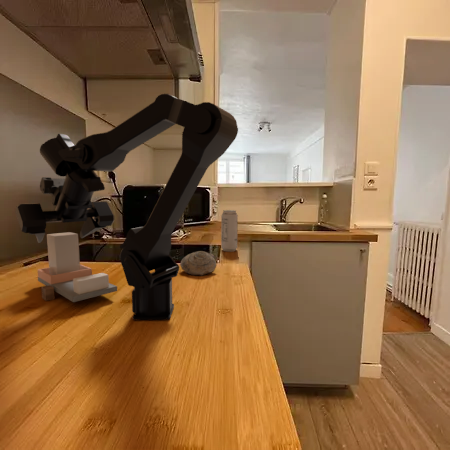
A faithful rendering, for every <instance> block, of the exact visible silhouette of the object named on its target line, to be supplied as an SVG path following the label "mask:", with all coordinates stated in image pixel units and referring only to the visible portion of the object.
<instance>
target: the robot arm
mask: <svg viewBox="0 0 450 450" xmlns="http://www.w3.org/2000/svg"><path fill="white" fill-rule="evenodd" d="M175 125H178V126H180V127H183V130H182V134H181V154H180V156H179V159H178V160H177V163H175V166H174V168H173V170H172V172H171V174H170V176H169V178H168V180H167V182H166V184H165V186H164V187H163V190H162V192H161V194H160V196H159V198H158V200H157V202H156V204H155V205H154V207H153V209H152V212H151V213H150V216H149V218H148V220H147V221H146V223H145V225H144V226H139V227H135V228H134V227H133V228H130V229H129V230H128V232H126V236H125V239H124V241H123V243H122V244H121V245H120V246H119V248H121V251H120V254H119V259H120V260H119V261H120V264H121V266H122V270H123V272H124V276H125V279H126V283H127V285H128V286H129V287H133V289H132V291H131V308H132V309H131V311H132V313H133V316H132V320H133V321H148V320H149V321H153V320H154V321H156V320H157V321H159V320H161V321H162V320H163V321H164V320H165V321H166V320H167V321H168V320H170V319H171V317H172V314H173V310H174V307H175V303H173V278H176V277H177V276H178V274H179V270H180V266H179V265H178V263H177V262H176V260H174V258H173V257H172V256H171V254H170V252H171V250H172V235H173V233H174V232H173V231H174V230H175V229H176V226H177V224H178V223H179V221H180V219H181V217H182V215H183V214H184V212H185V210H186V208H187V206H188V205H189V203H190V201H191V199H192V197H193V195H194V194H195V192H196V190H197V189H198V186H199V184H200V183H201V181H202V179H203V178H204V175H205V173H206V171H207V170H208V168H209V167H210V166H212V164H213V163H215V162H216V161H217V160H218V159H220V158H221V156H223V155H224V154H225V153H226V151H227V150H228V149H229V147H230V146H231V145H232V144H233V143H234V141H235V139H236V138H237V135H238V132H239V127H238V124H237V119H236V118H235V117H234V115H233V114H232V113H230V112H228V111H227V110H225V109H224V108H221V107H220V106H218V105H216V104H214V103H212V102H210V101H209V102H208V101H205V102H201V103H198V104H195V103H192V102H189V101H186V100H184V99H181V98H177V97H176V96H173V95H172V94H170V93H162V94H161V93H160V94H159V95H157V96H156V97H155V99H154V101H153V102H151V103H149V104H148V105H147V106H145V107H143V108H142V109H141V110H139V111H137V112H136V113H135V114H133V115H131V116H130V117H129V118H127V119H126V120H124V121H123V122H121V123H119V124H118V125H116V126H115V127H114V128H112V129H111V130H108V131H105V132H101V133H94V134H91V135H88V136H86V137H83V138H80V139H79V140H78V141H77V142H76V144H74V143H73V142H72V140H71V138H70V137H69V136H68V134H63V133H57V134H56V137H54V138H50V139H48V140H46V141H45V142H44V143H41V145H40V148H39V153H40V156H41V157H42V158H43V159H44V161H45V162H46V163H47V164H48V166H49V167H50V168H51V170H52V171H53V172H54V173H55V174H56V176H58V177H59V176H60V177H65V178H52V177H47V176H45V177H43V176H42V177H41V179H40V182H39V189H40V191H41V193H42V194H43V195H50V196H51V197H52V198H51V204H52V206H54V207H55V209H54V210H45V211H44V210H43V208H42V205H41V204H40V202H38V203H37V202H36V203H35V202H31V203H30V202H29V203H18V205H17V206H16V208H15V211H14V212H15V215H16V219H17V222H18V225H19V228H20V231H21V232H22V233H24V234H29V235H35V237H36V240H37V243H38V244H39V243H40V244H41V242H43V239H44V237H45V235H46V233H47V232H46V228H47V223H49V224H50V223H61V222H62V223H77V222H79V223H80V222H83V224H82V226H81V229H80V232H79V237H80V238H81V239H83V238H85V237H87V236H89V235H91V234H93V233H95V232H98V231H99V230H101V229H105V228H107V227H109V226H112V225H113V224H114V222H115V217H116V216H115V213H114V212H113V210H112V208H111V206H110V204H109V203H108V201H105V200H104V201H91V200H92V197H93V195H94V193H96V192H100V191H104V190H105V189H106V187H105V184H104V183H103V181H102V178H101V176H99V175H98V174H97V173H96V172H95V171H97V172H105V173H106V172H109V173H110V172H114V171H115V170H116V169H117V168H118V167H120V165H121V164H123V163H124V161H125V160H126V157H127V155H128V154H129V153H130V152H131V151H133V150H135V149H136V148H138V147H140V146H141V145H143V144H145V143H147V142H148V141H150V140H152V139H153V138H154V137H156V136H158V135H159V134H162V133H163V132H165V131H166V130H169V129H170V128H172V127H173V126H175ZM153 270H154V271H153ZM151 271H153V272H151Z"/></svg>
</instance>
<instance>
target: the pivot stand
mask: <svg viewBox="0 0 450 450" xmlns="http://www.w3.org/2000/svg"><path fill="white" fill-rule="evenodd" d="M55 298H56V297H55V291H54V288H53V287H52V286H50V285H49V286H46V285H44V286H41V299H42V300H44V301H45V302H47V301H51V300H52V301H53V300H55Z"/></svg>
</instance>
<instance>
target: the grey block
mask: <svg viewBox="0 0 450 450" xmlns="http://www.w3.org/2000/svg"><path fill="white" fill-rule="evenodd" d="M46 242H47V243H46V244H47V254H48V255H47V256H48V268H49V273H50V275H57V274H63V273H68V272H73V271H79V270H80V264H81V263H80V261H81V260H80V246H79V245H80V244H79V233H75V232H70V231H68V232H58V233H57V232H56V233H48V234H46Z"/></svg>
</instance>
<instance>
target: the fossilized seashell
mask: <svg viewBox="0 0 450 450" xmlns="http://www.w3.org/2000/svg"><path fill="white" fill-rule="evenodd" d="M214 257H215V255H214V254H212V253H210V252H208V251H203V250H198V251H193V252H192V253H189V254H187V255H185V256H184V257H183V258H182V259H181V261H180V268H181V269H182V271H184V273H187V274H189V275H192V276H200V277H201V276H205V275H209V274H210V273H212V272H214V271H215V270H216V268H217V262H216V259H215V258H214Z"/></svg>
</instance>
